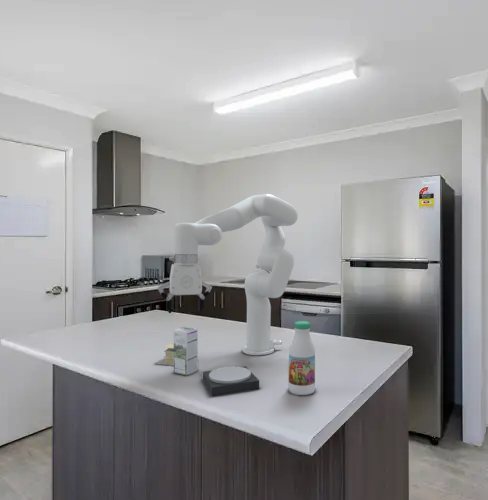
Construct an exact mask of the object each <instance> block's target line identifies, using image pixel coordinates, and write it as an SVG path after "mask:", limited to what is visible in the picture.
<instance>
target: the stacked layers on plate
mask: <svg viewBox="0 0 488 500" xmlns="http://www.w3.org/2000/svg"><path fill="white" fill-rule="evenodd" d="M164 348H165V350H164V351H163V352H164V354H165V356H164V357H163V358H164V359H162V360H160V361H158V362H156V365H162V366H163V365H165V366H174V342H173V343H169V344H167V345H166V346H164Z"/></svg>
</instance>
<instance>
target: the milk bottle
mask: <svg viewBox="0 0 488 500" xmlns="http://www.w3.org/2000/svg"><path fill="white" fill-rule="evenodd" d="M293 327H294V335H293V339H292V340H291V343H290V346H289V349H288V350H289V351H288V391H289V392H290V393H291V394H292V395H296V396H308V395H311V394H313V393H314V392H315V390H316V350H315V345H314V343H313V340H312V338H311V335H310V330H311V322H310V321H305V320H298V321H295V322H294V323H293Z"/></svg>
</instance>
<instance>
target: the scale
mask: <svg viewBox="0 0 488 500" xmlns="http://www.w3.org/2000/svg"><path fill="white" fill-rule="evenodd" d="M202 381H203V382H204V384H205V386H206V388H207V390H208V392H209V394H210V396H211V397H215V396H216V397H217V396H223V395H228V394H235V393H242V392H247V391H255V390H260V379H259V378H258V377H257V376H256V375H255V374H254V373H253V372H252V371H251V370H250V369H249V368H248V366H246V365H245V366H223V367H219V368H215V369H212V370H206V371H202Z"/></svg>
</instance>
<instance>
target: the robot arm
mask: <svg viewBox="0 0 488 500" xmlns="http://www.w3.org/2000/svg"><path fill="white" fill-rule="evenodd" d="M298 216H299V213H298V210H297V209H296V207H295V206H294V205H293V204H291V203H289V202H288V201H286V200H284V199H282V198H280V197H278V196H276V195H274V194H271V193H263V194H254V195H251V196H248V197H246V198H245V199H243V200H242V201H240V202H237V203H236V204H233V205H232V206H230V207H228V208H225V209H223V210H220V211H218V212H215V213H213V214H210V215H208V216H205V217H204V218H201V219H199V220H197V221H195V222H177V223H175V225H174V237H173V239H174V242H173V243H174V244H173V246H174V247H173V255H172V256H169V258H168V259H169V261H170V262H171V261H172V262H173V263H172V264H171V266H170V272H169V281H167V282H165V283H163V284H161V285H159V286H158V287H157V291H158V293H159V294H160V295H161V297H162V298H163V299H164V300H165V308H166V309H165V310H166V311H167V312H168V314H172V308H173V307H172V305H173V303H172V298H173V297H174V296H191V295H192V296H194V295H195V296H198V297H199V298H198V299H197V311H199V312H200V313H201V312H202V311H203V309H204V308H205V307H204V306H205V305H204V304H205V303H204V301H205V299H206V298H207V296H209V294H210V292H211V290H212V288H213V286H212V285H210V284H208V283H207V282H204V281H203V275H202V267H201V264H200V263H199V260H198V259H199V246H215V245H218V244H219V242H220V241H221V240H222V238H223V233H226V232H232V231H235V230H239V229H241V228H243V227H245V226H246V225H248V224H249V223H251V222H253V221H255V220H256V219H259V218H260V219H261V222H262V224H263V227H264V230H265V238H264V241H263V244H262V246H261V249H260V251H259V254H258V256H257V260H256V265H257V268H259V270H262V271H254V272H250V273H249V274H247V276H246V277H245V280H244V292H245V298H246V345H245V346H243V347H242V353H244V354H246V355H250V356H265V355H270V354H272V353H274V352H275V346H282V345H283V341H282V339H273V338H271V331H272V330H271V325H272V324H271V322H272V321H271V319H272V318H271V317H272V315H271V313H272V306H271V302H270V299H278V298H280V297H281V296H283V294H284V293H285V291H286V288H287V285H288V283H289V281H290V277H291V275H292V272H293V269H294V266H295V258H294V257H295V256H294V254H293V253H292V251H291V250H290V249H288V248H284V247H285V245H286V235H285V232H284V229H283V228H282V227H290V226H292V225H295V224H296V222H297V220H298ZM203 287H205V288H206V289H205V291H204V292H203ZM166 288H168V291H169V292H168V293H165V291H164V289H166ZM202 292H203V293H202Z"/></svg>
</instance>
